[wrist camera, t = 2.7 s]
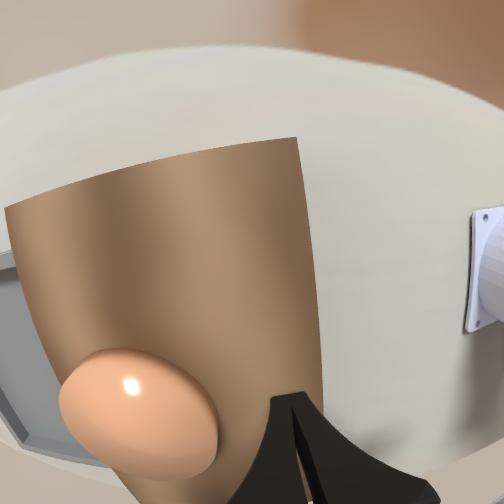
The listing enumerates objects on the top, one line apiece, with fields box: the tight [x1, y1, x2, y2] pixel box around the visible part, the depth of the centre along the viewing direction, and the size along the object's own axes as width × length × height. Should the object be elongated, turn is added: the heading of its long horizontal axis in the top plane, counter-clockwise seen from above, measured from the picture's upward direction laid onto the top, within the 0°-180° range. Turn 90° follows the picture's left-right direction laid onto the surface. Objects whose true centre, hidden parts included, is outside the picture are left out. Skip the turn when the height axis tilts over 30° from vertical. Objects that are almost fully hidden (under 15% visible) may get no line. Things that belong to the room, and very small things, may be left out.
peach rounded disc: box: [59, 348, 219, 481], centre depth 11 cm, size 7×7×2 cm
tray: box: [0, 250, 111, 468], centre depth 14 cm, size 12×16×2 cm
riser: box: [4, 137, 324, 504], centre depth 13 cm, size 12×20×4 cm, turn 9°
